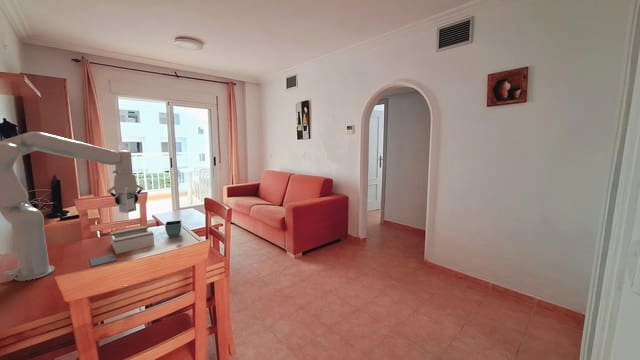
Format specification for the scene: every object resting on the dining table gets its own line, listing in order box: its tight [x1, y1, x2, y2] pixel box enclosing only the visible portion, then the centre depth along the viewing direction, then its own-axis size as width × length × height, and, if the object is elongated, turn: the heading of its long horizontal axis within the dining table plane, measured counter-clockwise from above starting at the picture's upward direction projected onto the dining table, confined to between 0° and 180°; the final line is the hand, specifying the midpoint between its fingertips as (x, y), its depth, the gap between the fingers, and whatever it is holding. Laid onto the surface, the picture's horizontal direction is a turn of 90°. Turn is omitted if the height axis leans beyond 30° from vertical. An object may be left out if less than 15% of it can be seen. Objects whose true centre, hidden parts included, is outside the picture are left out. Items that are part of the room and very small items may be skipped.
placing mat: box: [89, 253, 118, 267], centre depth 136 cm, size 10×10×1 cm
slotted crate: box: [109, 225, 155, 255], centre depth 156 cm, size 18×18×8 cm
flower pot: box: [164, 219, 182, 239], centre depth 171 cm, size 9×9×9 cm
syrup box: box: [118, 187, 137, 214], centre depth 152 cm, size 6×6×14 cm
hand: (127, 202), depth 152 cm, fingers closed on syrup box, 7 cm apart
